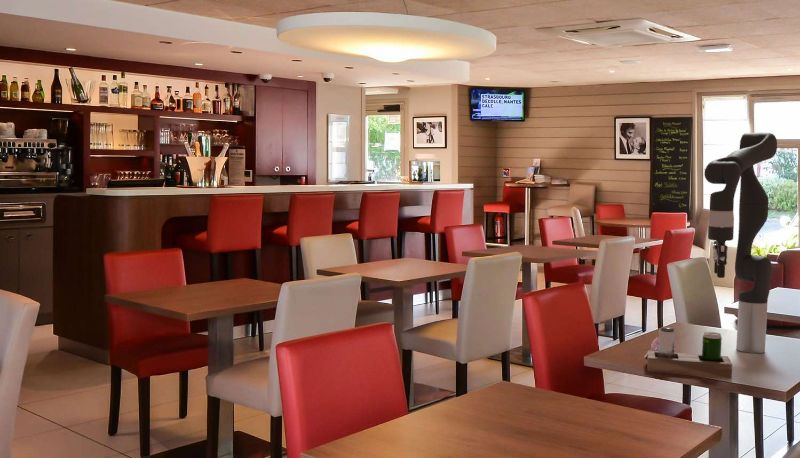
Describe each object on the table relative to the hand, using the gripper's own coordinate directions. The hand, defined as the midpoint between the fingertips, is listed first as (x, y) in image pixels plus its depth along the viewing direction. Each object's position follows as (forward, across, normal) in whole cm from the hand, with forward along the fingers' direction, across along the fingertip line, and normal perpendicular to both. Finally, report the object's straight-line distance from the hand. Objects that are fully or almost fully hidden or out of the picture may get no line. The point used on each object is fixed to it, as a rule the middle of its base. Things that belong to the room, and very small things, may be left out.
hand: (719, 275), depth 261 cm
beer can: (+28, +14, -3) cm, 32 cm away
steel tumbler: (+28, +14, -16) cm, 35 cm away
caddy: (+28, +14, -10) cm, 33 cm away
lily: (+29, -3, -18) cm, 35 cm away
